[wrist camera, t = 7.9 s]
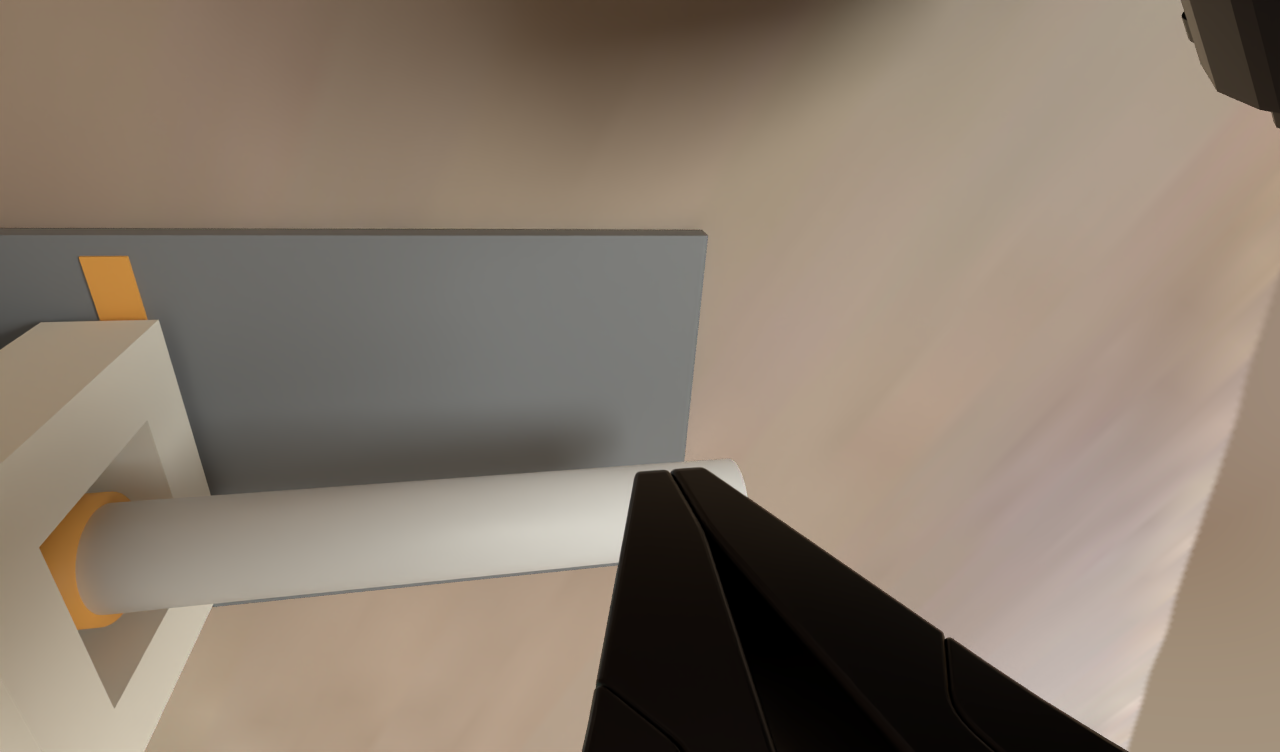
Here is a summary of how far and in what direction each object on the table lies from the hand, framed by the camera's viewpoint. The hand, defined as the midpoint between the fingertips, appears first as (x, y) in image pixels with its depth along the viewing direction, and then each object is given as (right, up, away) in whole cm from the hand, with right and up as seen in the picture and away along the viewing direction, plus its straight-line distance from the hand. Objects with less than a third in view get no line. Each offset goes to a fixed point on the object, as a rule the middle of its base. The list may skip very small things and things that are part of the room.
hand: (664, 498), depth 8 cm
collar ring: (-14, 0, +11) cm, 18 cm away
